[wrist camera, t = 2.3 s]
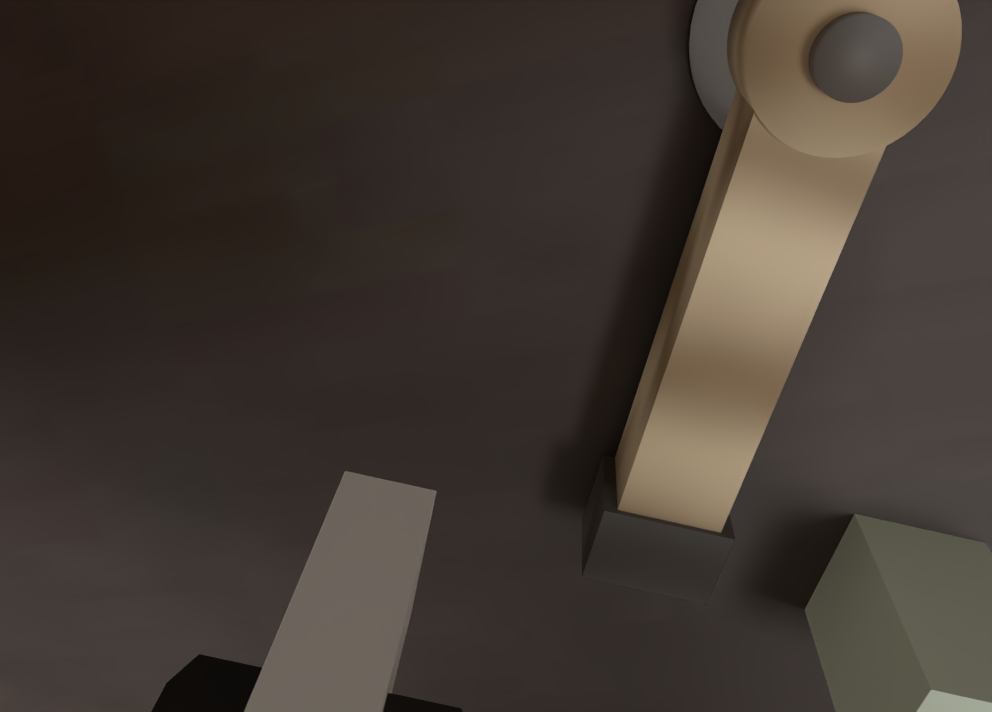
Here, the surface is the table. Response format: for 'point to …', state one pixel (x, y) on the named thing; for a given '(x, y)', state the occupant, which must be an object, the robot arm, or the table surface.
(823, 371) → the table surface
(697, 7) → the pivot plate
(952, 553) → the tall sage green block
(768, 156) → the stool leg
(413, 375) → the table surface
